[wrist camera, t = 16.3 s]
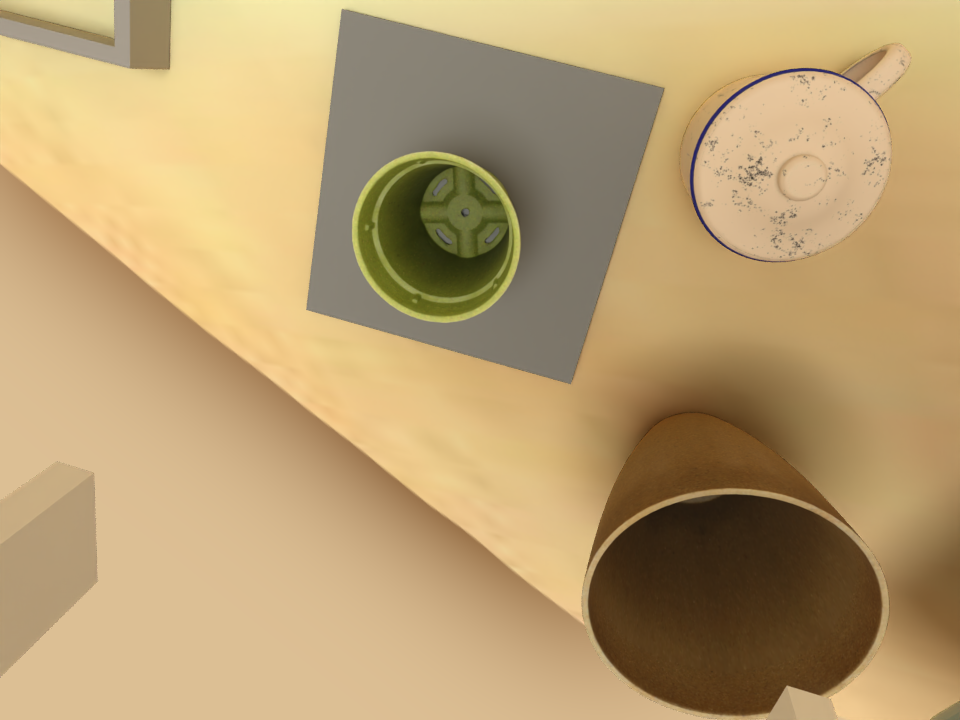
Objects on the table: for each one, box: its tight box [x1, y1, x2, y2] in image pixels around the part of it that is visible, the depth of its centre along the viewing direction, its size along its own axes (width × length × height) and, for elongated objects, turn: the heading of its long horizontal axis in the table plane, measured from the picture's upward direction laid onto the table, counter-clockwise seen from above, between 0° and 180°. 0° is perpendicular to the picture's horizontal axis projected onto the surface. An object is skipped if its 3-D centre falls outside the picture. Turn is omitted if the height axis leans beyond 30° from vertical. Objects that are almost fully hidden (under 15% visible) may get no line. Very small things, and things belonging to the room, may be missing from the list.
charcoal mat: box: [306, 9, 664, 384], centre depth 44 cm, size 20×20×1 cm
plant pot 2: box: [582, 413, 889, 720], centre depth 41 cm, size 15×15×16 cm
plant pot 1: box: [352, 151, 521, 323], centre depth 40 cm, size 9×9×9 cm
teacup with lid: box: [680, 43, 911, 262], centre depth 34 cm, size 12×9×12 cm
